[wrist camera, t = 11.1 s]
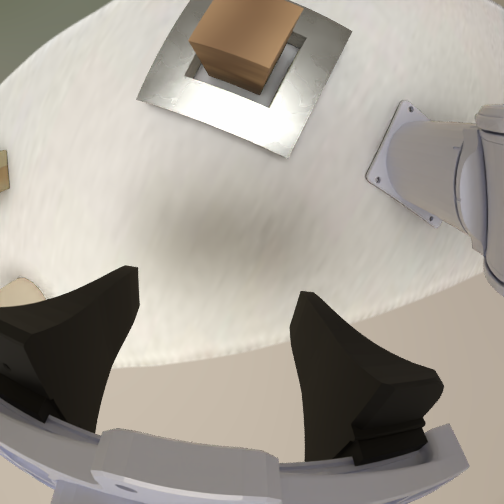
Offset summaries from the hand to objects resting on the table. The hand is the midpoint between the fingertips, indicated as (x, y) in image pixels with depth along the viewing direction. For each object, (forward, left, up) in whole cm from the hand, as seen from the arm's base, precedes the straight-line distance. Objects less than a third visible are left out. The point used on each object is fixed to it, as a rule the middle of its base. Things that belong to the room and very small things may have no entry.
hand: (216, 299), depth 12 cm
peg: (+4, -12, -10) cm, 16 cm away
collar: (+4, -12, -10) cm, 16 cm away
